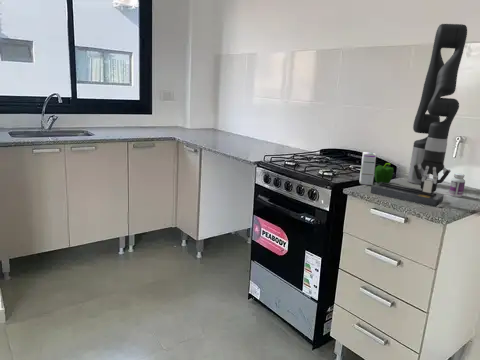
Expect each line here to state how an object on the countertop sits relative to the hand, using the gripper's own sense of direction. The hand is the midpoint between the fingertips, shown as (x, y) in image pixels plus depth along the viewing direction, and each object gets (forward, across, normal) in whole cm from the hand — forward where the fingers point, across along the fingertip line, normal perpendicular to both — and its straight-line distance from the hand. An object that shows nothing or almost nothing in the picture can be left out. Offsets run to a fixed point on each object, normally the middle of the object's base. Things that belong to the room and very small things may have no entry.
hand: (427, 191), depth 159 cm
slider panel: (+4, +8, 0) cm, 9 cm away
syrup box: (+5, +29, -9) cm, 31 cm away
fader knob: (+1, 0, 0) cm, 1 cm away
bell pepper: (+5, +24, -17) cm, 30 cm away
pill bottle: (+5, -7, -21) cm, 23 cm away
